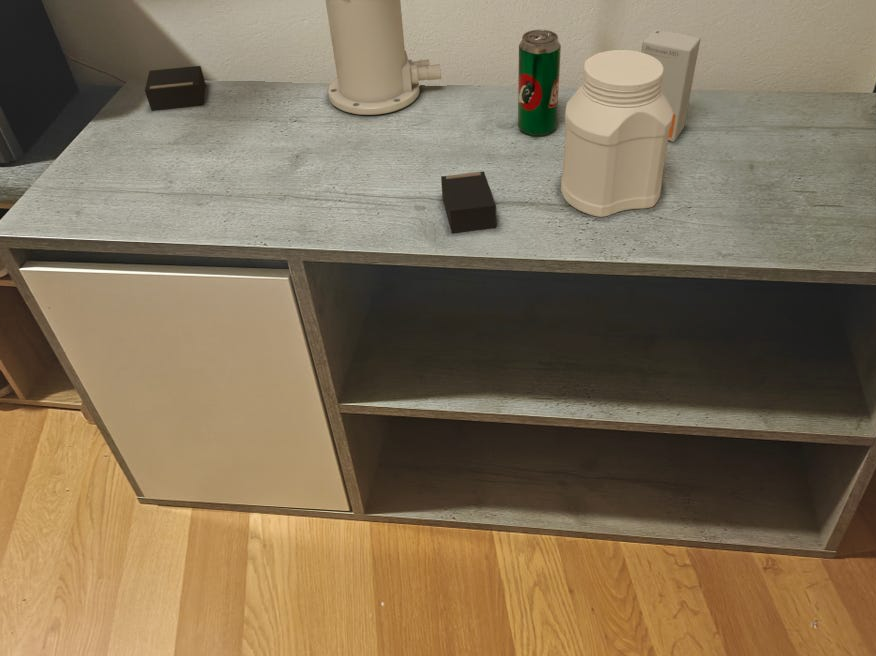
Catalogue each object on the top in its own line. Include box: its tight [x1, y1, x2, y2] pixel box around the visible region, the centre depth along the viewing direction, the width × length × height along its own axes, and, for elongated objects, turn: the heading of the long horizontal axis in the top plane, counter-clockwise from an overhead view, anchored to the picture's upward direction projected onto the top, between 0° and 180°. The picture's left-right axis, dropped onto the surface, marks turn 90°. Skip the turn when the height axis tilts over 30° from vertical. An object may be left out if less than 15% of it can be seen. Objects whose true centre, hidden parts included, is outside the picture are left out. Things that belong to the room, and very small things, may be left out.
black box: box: [440, 171, 497, 234], centre depth 90 cm, size 5×7×3 cm
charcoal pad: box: [144, 65, 207, 112], centre depth 112 cm, size 7×6×3 cm
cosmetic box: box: [640, 28, 701, 143], centre depth 99 cm, size 6×4×12 cm
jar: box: [560, 49, 673, 218], centre depth 89 cm, size 12×10×15 cm
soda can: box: [517, 29, 562, 137], centre depth 100 cm, size 5×5×12 cm
